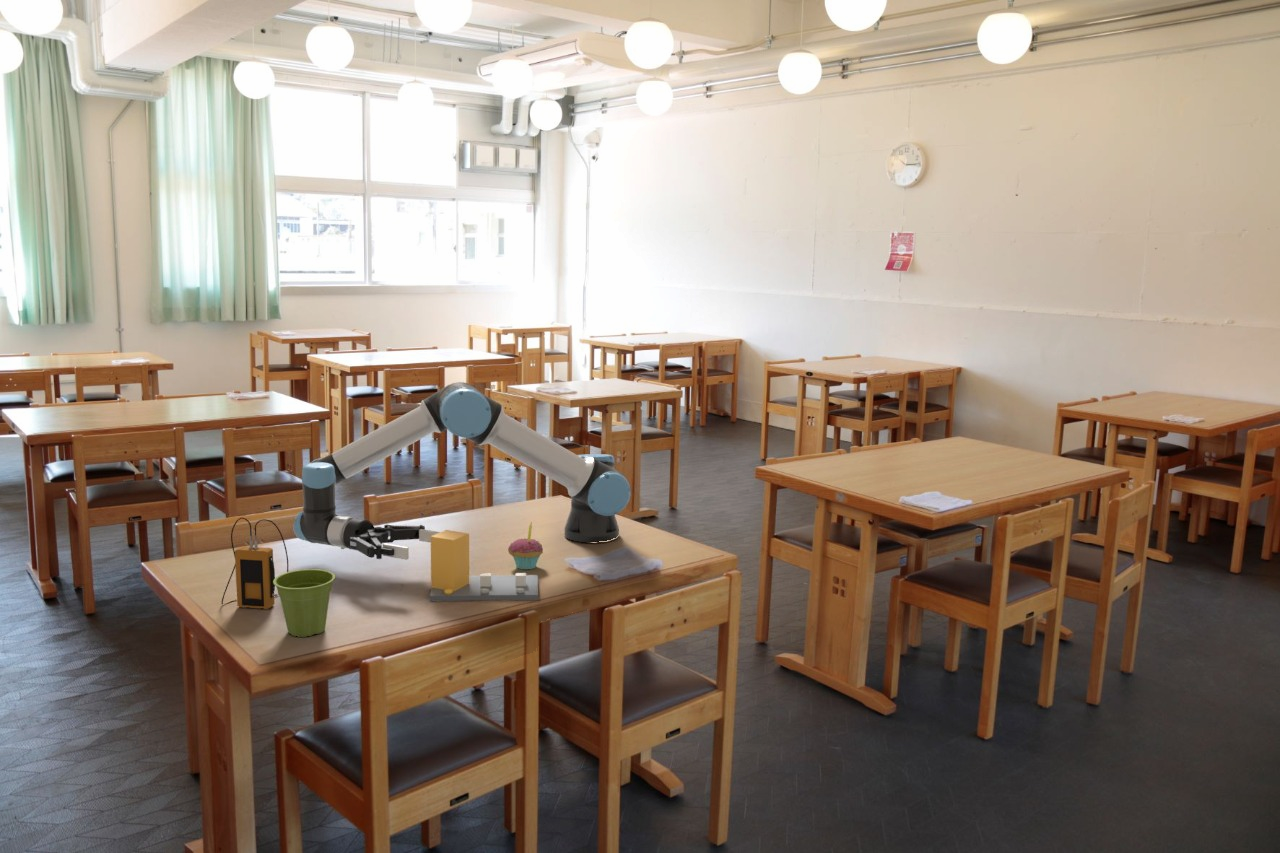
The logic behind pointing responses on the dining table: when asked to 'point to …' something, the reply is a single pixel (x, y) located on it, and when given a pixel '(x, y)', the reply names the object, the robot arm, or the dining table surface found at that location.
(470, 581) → the board
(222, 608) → the dining table surface
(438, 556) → the cap
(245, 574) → the multimeter
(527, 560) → the cupcake
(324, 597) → the plant pot
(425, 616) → the dining table surface
